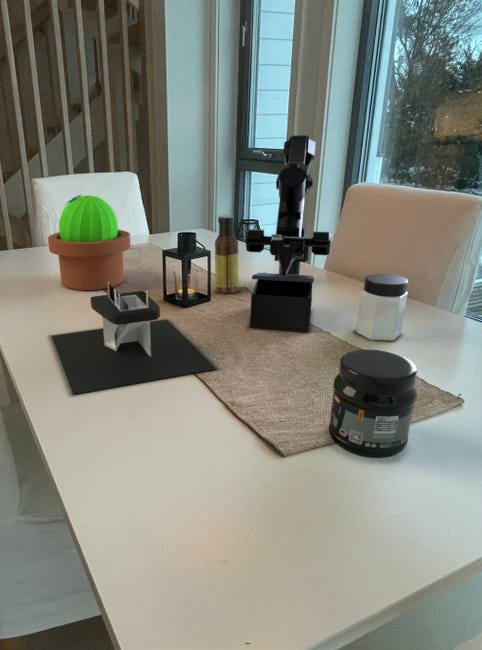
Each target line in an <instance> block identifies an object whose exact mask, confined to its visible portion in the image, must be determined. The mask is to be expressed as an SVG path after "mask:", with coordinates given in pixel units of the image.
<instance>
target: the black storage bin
mask: <svg viewBox="0 0 482 650" xmlns="http://www.w3.org/2000/svg"><path fill="white" fill-rule="evenodd" d="M313 285H314V282H313V283H311V282H292V281H274V280H256V281H255V284H254V287H253V290H252V291H251V295H250V297H251V298H250V314H249V315H250V317H249V328H250V329H255V330H256V329H257V330H269V331H270V330H271V331H282V332H293V333H294V332H295V333H308V334H309V333H310V324H311V323H310V322H311V314H312V304H313V303H312V302H313Z"/></svg>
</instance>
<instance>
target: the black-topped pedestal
mask: <svg viewBox="0 0 482 650" xmlns="http://www.w3.org/2000/svg"><path fill="white" fill-rule="evenodd" d="M107 291H108V292H107V293H108V294H102V295H101V294H100V295H94V296H91V297H90V298H89V299H90V307H91V309H92V310H93V311H94V312H96V313H97V314H98V315H100V316H101V318H102V328H96V329H90V330H83V331H75V332H68V333H60V334H54V335H53V334H52V335H51V338H52V341H53V344H54V347H55V350H56V352H57V355H58V357H59V358H58V359H59V361H60V364H61V365H62V366H61V367H62V368H63V372H64V374H65V377H66V379H67V382H68V385H69V388H70V390H71V393H72V395H76V394H78V395H79V394H82V393H83V394H84V393H88V392H94V391H99V390H100V391H101V390H104V389H105V390H106V389H112V388H116V387H122V386H128V385H133V384H139V383H143V382H150V381H156V380H162V379H167V378H173V377H177V376H184V375H189V374H195V373H201V372H206V371H211V370H217V367H216V366H214V364H213V363H211V362H210V360H208V359H207V358H206V357H205V355H204V354H202V353H201V352H200V350H198V349H197V348H196V347H195V346H194V345H193V344H192V343H191V342H190V341H189V340H188V339H187V338H186V337H185V336H184V334H182V333H181V332H180V331H179V330H178V329H177V328H176V327H175V326H174V325H173V324H172V322H171V321H169V320H168V319H160V320H158V319H159V318H161V310H160V309H161V307H160V305H159V304H158V303H156V302H155V300H153V299H152V297H150V296H149V291H148V290H146V291H143V290H135V291H125V292H118V291H117V289H114V287H112V286H111V285H110V284H109V282H108V288H107Z"/></svg>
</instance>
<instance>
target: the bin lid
mask: <svg viewBox="0 0 482 650" xmlns="http://www.w3.org/2000/svg"><path fill="white" fill-rule="evenodd" d="M314 279H315V278H314V275H311V274H299V275H293V274H287V275H286V276H285V275H282V274H279V273H272V272H271V273H269V272H257V273H255V274H252V275H251V280H256V281H257V280H274V281H292V282H311V283H313V284H314V281H315V280H314Z"/></svg>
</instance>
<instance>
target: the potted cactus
mask: <svg viewBox="0 0 482 650" xmlns="http://www.w3.org/2000/svg"><path fill="white" fill-rule="evenodd" d="M62 208H63V209H62V210H61V212H59V213H60V214H61V215H60V218H58V220H59V221H58V229H57V230H56V231H58V232H54V233H53V234H50V235H49V236H48V237H47V242H48V251H49V252H50V253H51V254H52V255H57V256H58V264H59V273H60V282H61V284H62V286H64V287H66V288H68V289H72V290H78V291H99V290H100V291H101V290H106V289H107V290H108V282H109V284H110V285H111V286H112V287H113V288H114V287H116V286H118V285H120V284H122V283H123V281H124V279H125V274H124V273H125V271H124V256H123V255H124V254H123V253H124V252H125V251H127V250H129V249H130V248H131V233H130V232H129V231H125V230H123V229H119V226H118V225H119V223H118V218H117V216H116V214H117V212H114V210H113V209H114V207H112V205H110V204H108V202H107V201H105V200H104V199H103V198H100V196H99V195H95V194H92V195H91V193H88V194H87V195H85V194H84V193H83V195H82V194H79V195H76V196H74V197H72V198H71V199H69V200H67V202H66V203H65V204H64V206H63V207H62Z"/></svg>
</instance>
